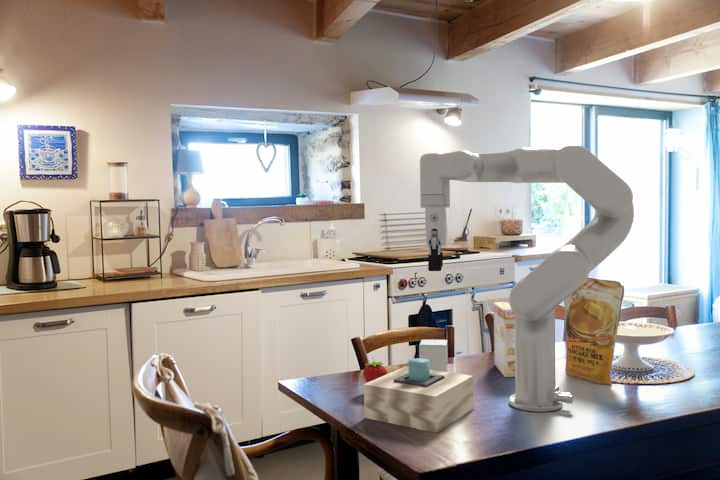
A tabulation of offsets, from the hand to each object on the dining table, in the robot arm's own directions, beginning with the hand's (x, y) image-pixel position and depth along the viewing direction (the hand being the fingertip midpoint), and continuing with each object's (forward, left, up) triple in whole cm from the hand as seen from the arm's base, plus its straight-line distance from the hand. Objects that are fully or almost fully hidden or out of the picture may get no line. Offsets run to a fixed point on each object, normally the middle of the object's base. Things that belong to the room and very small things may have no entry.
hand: (435, 268), depth 159 cm
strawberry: (+15, +6, -33) cm, 37 cm away
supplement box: (+4, -6, -33) cm, 34 cm away
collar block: (-3, +14, -33) cm, 36 cm away
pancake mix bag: (-29, -36, -33) cm, 57 cm away
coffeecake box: (-7, -33, -33) cm, 47 cm away
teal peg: (-3, +14, -27) cm, 31 cm away
